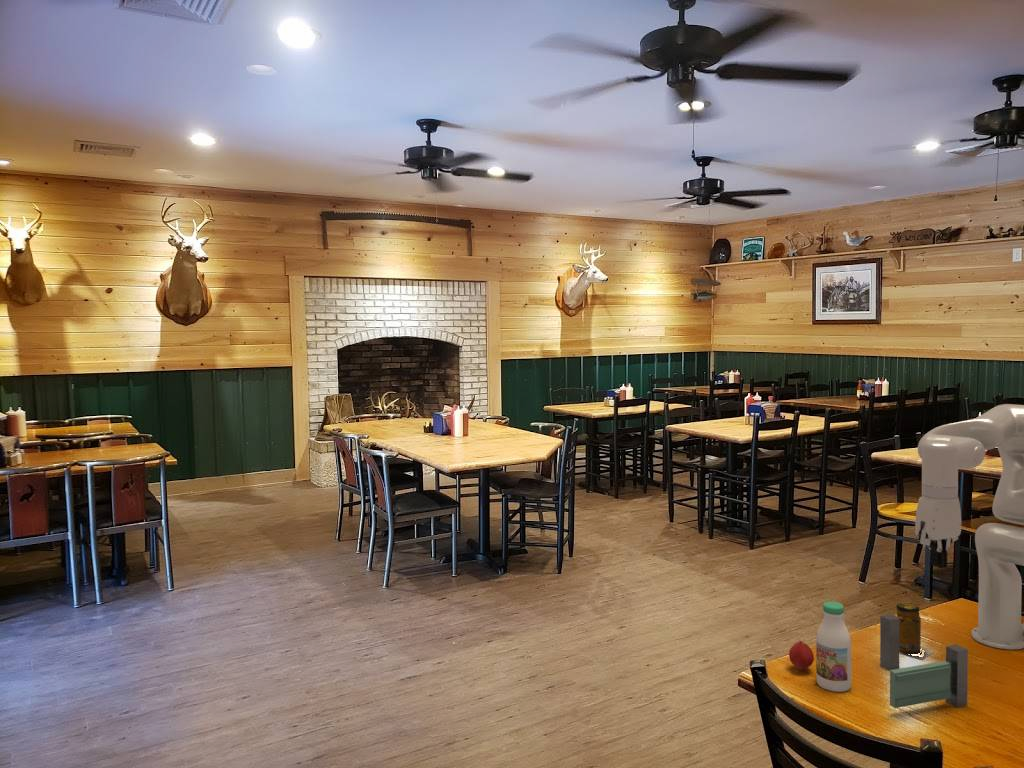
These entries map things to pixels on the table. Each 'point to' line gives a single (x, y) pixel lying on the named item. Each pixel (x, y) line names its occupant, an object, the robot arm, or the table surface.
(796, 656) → the onion
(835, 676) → the milk bottle
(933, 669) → the gate
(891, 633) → the gate posts
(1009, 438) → the robot arm
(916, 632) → the condiment
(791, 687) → the table surface
